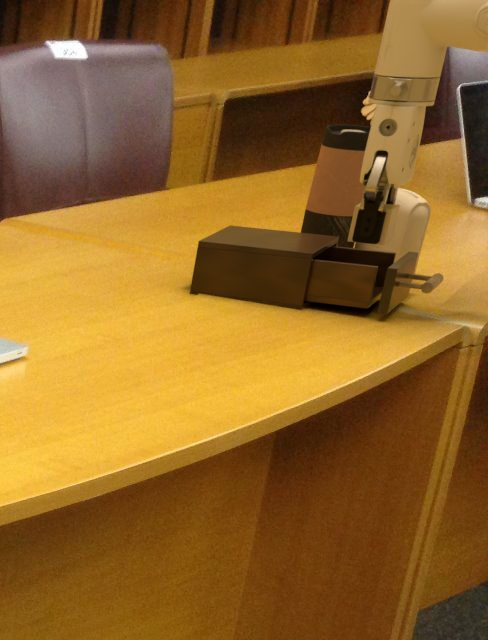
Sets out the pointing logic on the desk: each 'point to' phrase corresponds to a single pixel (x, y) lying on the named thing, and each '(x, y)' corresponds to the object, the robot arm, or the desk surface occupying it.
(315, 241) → the cabinet
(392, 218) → the block
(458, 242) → the desk surface
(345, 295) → the drawer
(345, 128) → the travel mug
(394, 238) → the photo printer
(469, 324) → the desk surface
